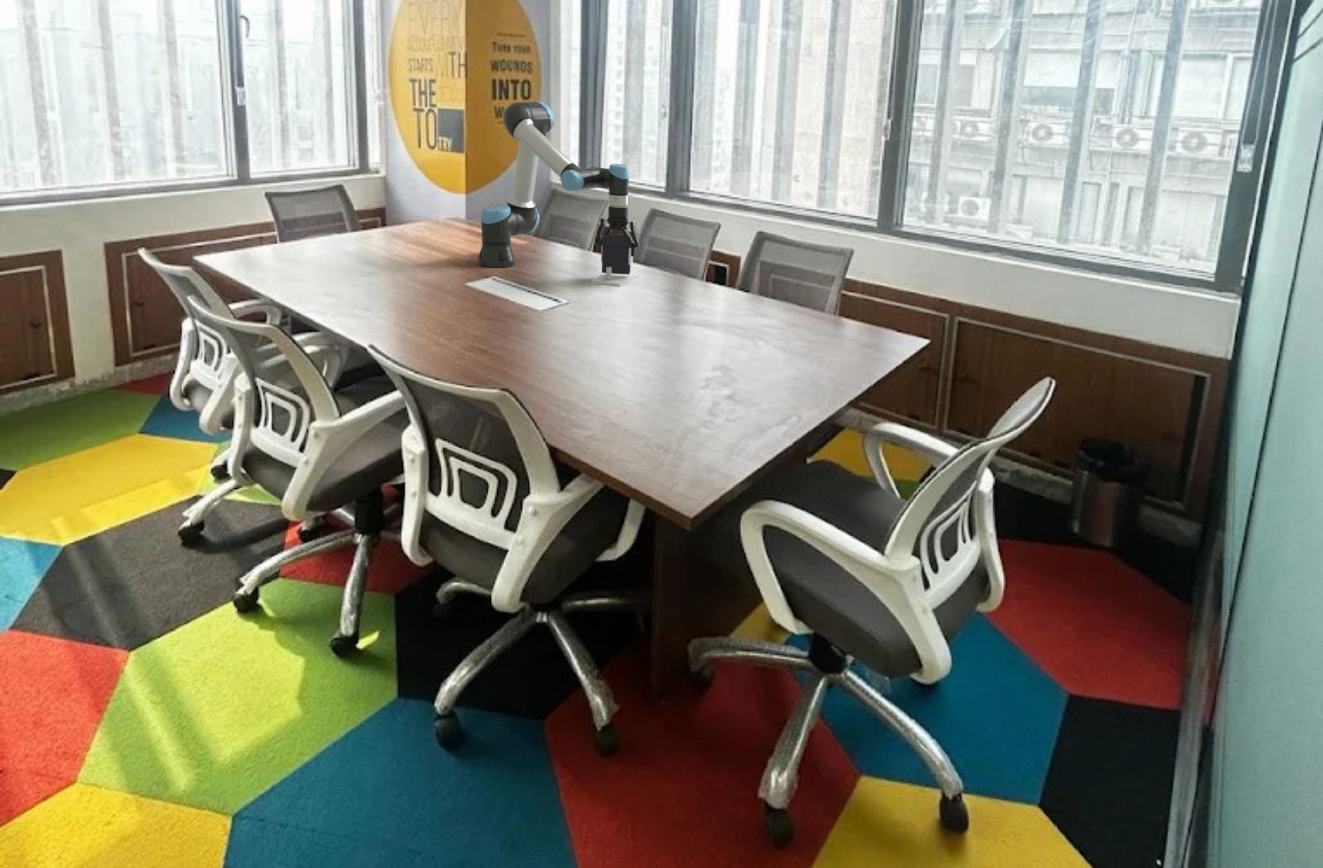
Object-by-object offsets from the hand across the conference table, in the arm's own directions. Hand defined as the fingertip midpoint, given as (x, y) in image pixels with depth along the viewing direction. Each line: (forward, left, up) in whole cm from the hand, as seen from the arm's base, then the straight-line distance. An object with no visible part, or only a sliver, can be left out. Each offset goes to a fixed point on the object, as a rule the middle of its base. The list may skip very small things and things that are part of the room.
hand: (616, 262), depth 377 cm
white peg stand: (0, 0, -7) cm, 7 cm away
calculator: (0, 0, -4) cm, 4 cm away
